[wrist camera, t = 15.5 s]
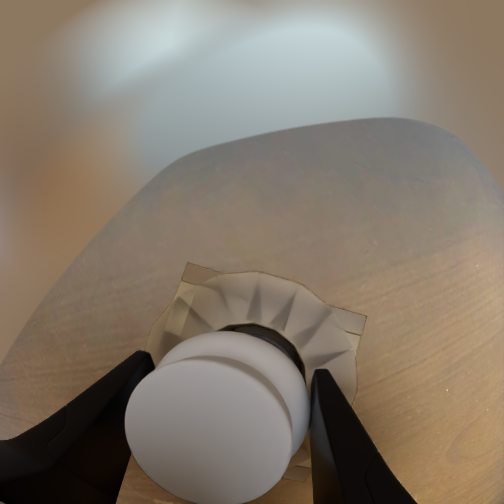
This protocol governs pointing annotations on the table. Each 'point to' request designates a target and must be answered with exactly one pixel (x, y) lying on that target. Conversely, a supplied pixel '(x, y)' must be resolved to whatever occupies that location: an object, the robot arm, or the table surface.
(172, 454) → the pill bottle
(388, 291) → the table surface
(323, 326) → the socket plate
